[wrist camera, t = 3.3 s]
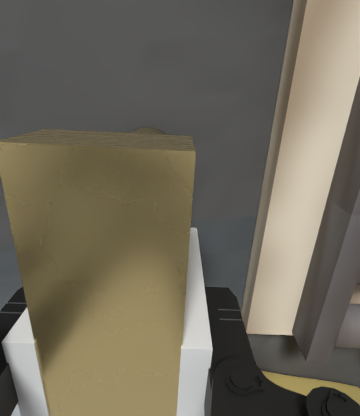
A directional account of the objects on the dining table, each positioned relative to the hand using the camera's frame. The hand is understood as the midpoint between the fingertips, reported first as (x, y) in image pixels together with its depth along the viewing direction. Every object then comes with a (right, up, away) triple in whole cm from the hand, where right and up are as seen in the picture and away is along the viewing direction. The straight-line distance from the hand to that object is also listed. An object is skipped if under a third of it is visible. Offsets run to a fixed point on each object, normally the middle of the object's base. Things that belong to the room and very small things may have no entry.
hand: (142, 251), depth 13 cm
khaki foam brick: (0, +1, +2) cm, 3 cm away
